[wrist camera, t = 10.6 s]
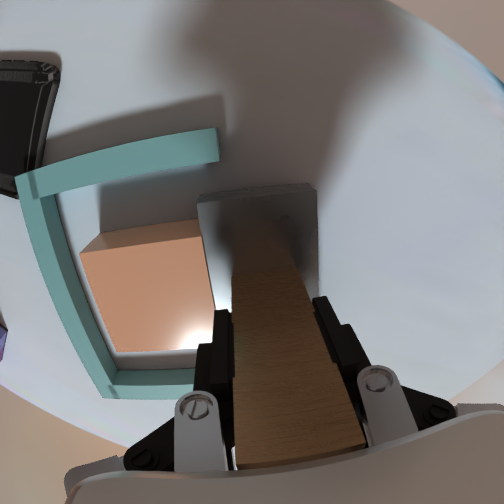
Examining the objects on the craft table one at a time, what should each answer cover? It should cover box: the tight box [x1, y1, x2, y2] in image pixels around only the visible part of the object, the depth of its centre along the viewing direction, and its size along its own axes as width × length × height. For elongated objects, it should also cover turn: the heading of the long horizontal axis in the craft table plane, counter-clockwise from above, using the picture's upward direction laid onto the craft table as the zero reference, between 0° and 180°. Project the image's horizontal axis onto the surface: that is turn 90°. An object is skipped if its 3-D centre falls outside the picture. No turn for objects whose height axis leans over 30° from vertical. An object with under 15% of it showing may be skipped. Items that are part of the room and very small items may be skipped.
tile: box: [79, 218, 216, 352], centre depth 15 cm, size 6×6×3 cm
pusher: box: [196, 183, 366, 470], centre depth 11 cm, size 10×5×11 cm, turn 6°
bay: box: [15, 128, 221, 400], centre depth 16 cm, size 11×16×2 cm
